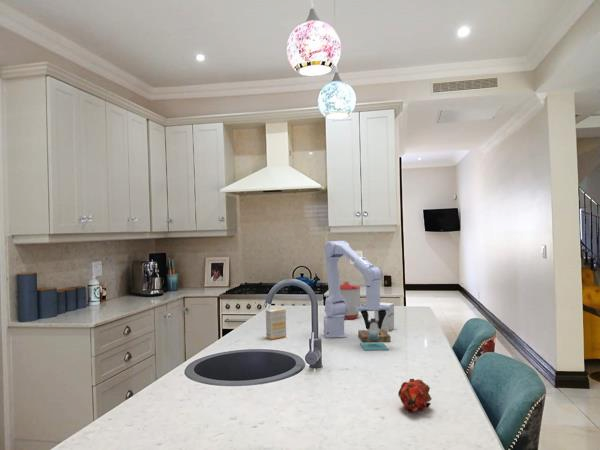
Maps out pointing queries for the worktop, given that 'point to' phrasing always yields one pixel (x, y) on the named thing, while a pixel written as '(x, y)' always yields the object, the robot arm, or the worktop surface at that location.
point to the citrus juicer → (350, 299)
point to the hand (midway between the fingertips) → (373, 328)
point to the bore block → (382, 338)
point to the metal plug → (373, 329)
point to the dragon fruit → (415, 395)
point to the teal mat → (373, 346)
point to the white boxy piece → (387, 317)
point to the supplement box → (275, 323)
